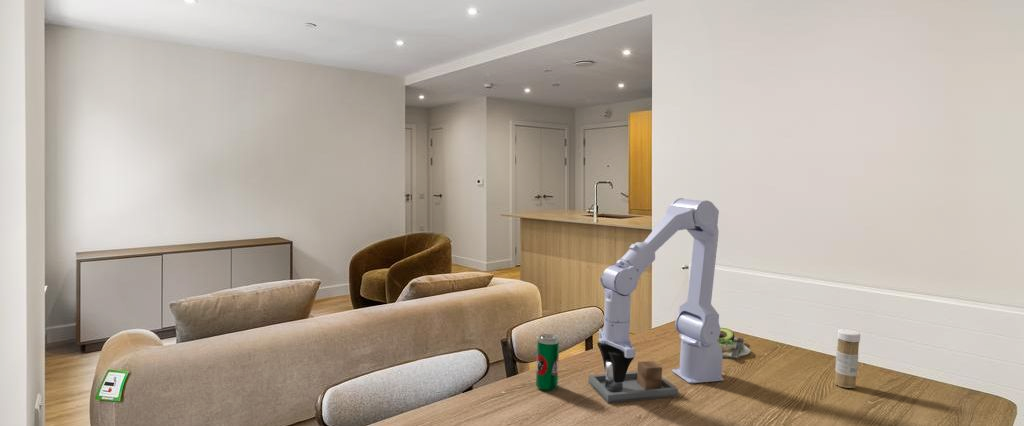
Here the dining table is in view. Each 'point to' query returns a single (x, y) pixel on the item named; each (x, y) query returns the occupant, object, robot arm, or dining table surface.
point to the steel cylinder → (611, 378)
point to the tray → (631, 389)
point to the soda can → (547, 362)
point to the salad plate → (731, 344)
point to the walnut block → (649, 375)
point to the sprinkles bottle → (847, 358)
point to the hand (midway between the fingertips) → (614, 377)
